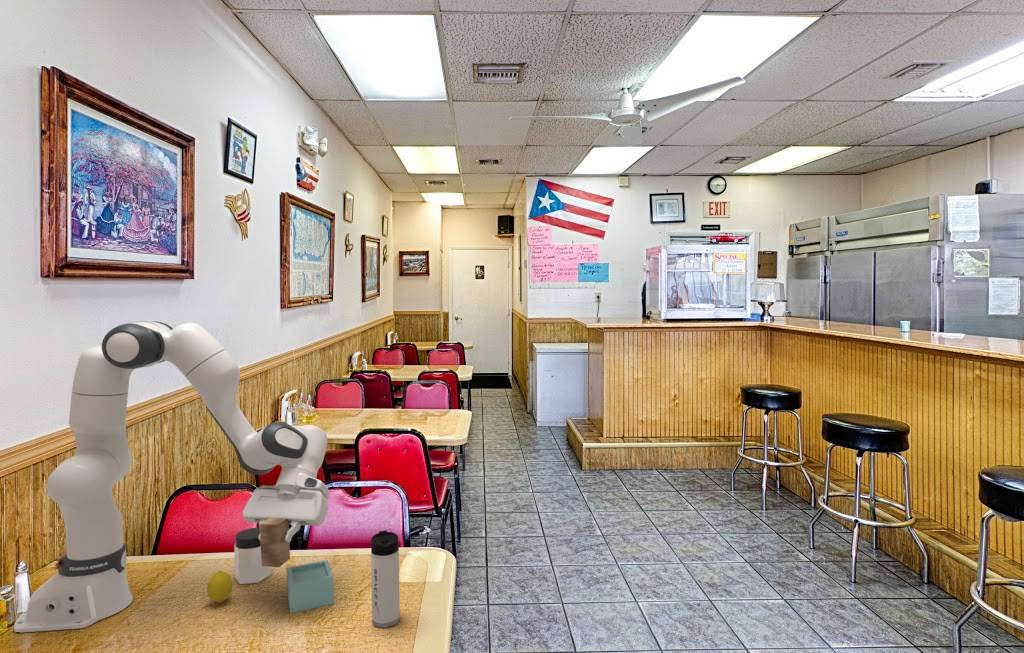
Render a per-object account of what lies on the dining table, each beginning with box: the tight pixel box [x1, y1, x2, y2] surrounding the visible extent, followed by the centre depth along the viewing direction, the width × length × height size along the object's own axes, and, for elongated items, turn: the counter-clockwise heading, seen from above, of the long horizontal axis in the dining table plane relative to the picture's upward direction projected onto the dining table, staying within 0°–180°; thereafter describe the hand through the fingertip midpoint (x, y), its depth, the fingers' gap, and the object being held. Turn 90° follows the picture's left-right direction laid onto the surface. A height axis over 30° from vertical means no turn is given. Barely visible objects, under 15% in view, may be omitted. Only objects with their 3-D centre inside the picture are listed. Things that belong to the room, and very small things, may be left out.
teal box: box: [286, 559, 335, 614], centre depth 142 cm, size 10×10×7 cm
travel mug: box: [370, 530, 401, 629], centre depth 132 cm, size 6×7×20 cm
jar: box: [233, 527, 271, 585], centre depth 153 cm, size 9×8×12 cm
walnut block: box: [259, 518, 291, 568], centre depth 134 cm, size 4×4×10 cm
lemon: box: [206, 570, 233, 604], centre depth 140 cm, size 6×6×8 cm
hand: (273, 540), depth 134 cm, fingers closed on walnut block, 4 cm apart
